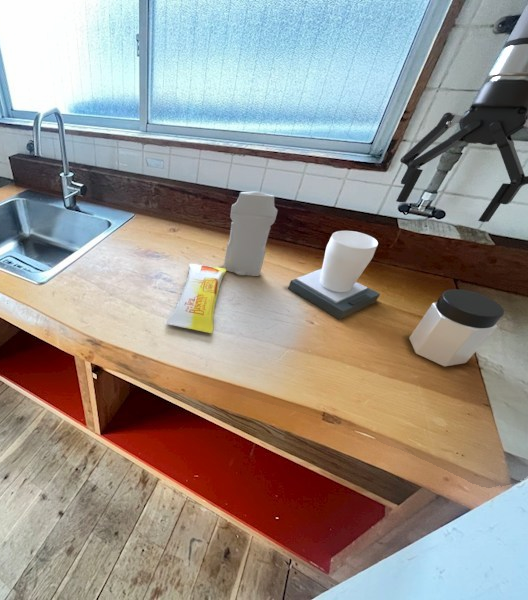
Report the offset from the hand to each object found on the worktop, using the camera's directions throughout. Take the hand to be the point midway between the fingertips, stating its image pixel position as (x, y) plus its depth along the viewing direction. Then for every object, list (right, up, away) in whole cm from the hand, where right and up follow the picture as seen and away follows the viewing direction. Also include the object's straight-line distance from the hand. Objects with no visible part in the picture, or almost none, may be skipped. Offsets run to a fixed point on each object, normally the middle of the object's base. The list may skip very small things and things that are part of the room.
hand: (438, 210), depth 63 cm
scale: (-12, -16, +15) cm, 25 cm away
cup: (-12, -14, +14) cm, 23 cm away
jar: (-1, -28, 0) cm, 28 cm away
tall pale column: (-30, -10, +25) cm, 41 cm away
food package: (-44, -17, +17) cm, 50 cm away
